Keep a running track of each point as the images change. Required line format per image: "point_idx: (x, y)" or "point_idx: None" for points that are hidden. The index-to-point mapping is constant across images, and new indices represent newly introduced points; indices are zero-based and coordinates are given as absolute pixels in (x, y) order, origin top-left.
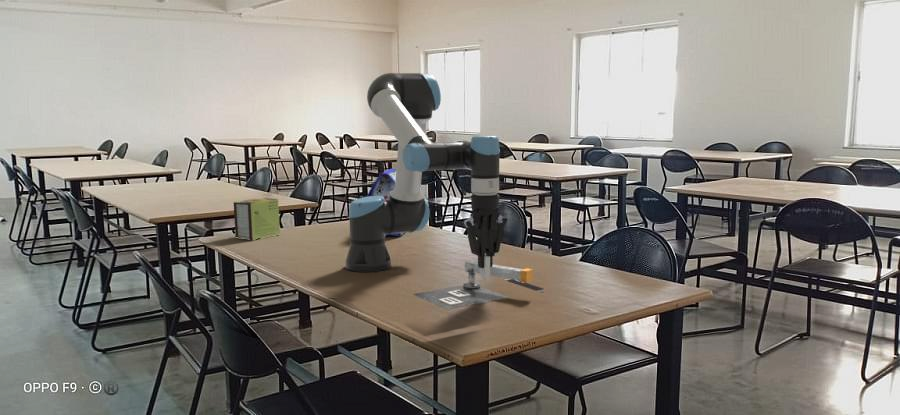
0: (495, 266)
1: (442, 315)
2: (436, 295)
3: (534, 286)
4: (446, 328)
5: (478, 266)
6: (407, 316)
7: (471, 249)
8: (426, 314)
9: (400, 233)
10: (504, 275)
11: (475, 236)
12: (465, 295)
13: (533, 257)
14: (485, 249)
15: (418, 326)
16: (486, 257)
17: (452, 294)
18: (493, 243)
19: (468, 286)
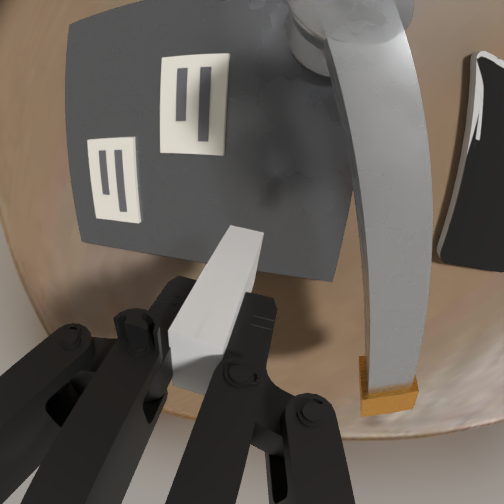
0: (389, 243)
1: (76, 235)
2: (112, 73)
3: None
4: (68, 304)
5: (174, 281)
6: (21, 188)
7: (42, 357)
8: (50, 202)
9: None
10: (364, 296)
11: (15, 484)
12: (192, 153)
13: None
14: (204, 401)
15: (30, 259)
16: (183, 385)
17: (160, 100)
18: (295, 484)
19: (291, 51)
